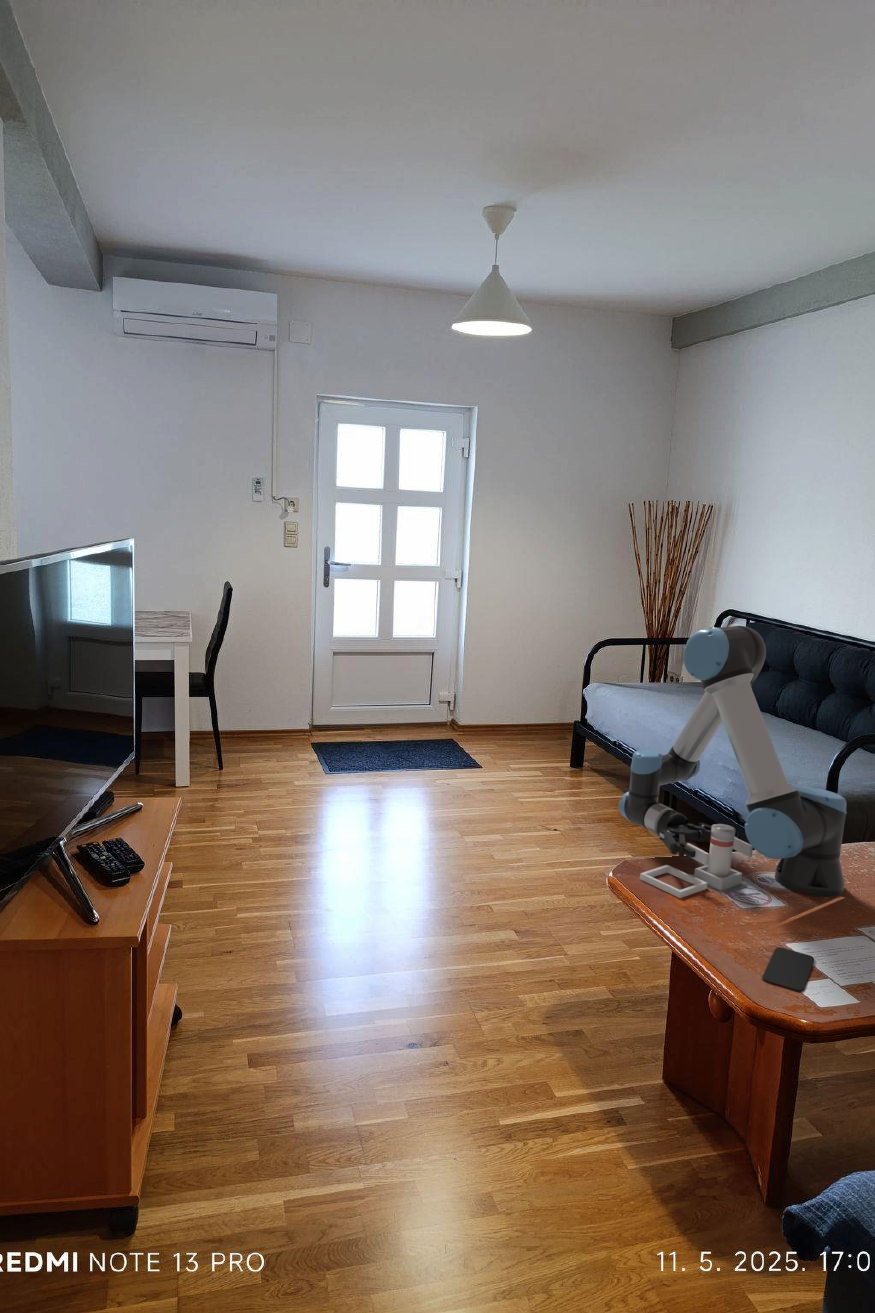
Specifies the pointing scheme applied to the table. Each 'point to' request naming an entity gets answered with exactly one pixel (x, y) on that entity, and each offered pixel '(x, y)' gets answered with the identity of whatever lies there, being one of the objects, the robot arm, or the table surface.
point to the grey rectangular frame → (697, 886)
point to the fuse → (721, 850)
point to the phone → (788, 969)
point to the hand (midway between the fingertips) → (729, 855)
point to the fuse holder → (720, 880)
